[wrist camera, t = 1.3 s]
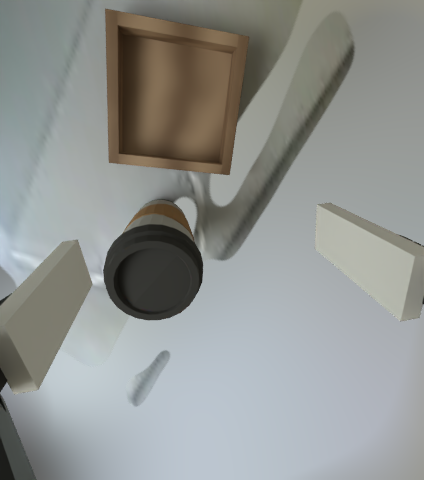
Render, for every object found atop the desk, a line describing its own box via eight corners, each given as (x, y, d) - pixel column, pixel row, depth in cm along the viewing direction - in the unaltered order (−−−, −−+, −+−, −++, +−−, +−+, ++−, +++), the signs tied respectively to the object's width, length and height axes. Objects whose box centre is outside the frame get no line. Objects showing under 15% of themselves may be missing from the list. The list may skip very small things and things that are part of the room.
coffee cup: (115, 226, 34) (75, 291, 20) (155, 176, 33) (142, 211, 19) (166, 262, 37) (162, 340, 23) (206, 218, 35) (227, 274, 22)
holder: (115, 159, 31) (108, 162, 28) (113, 23, 26) (105, 8, 23) (224, 170, 33) (229, 175, 30) (240, 46, 29) (249, 36, 25)
